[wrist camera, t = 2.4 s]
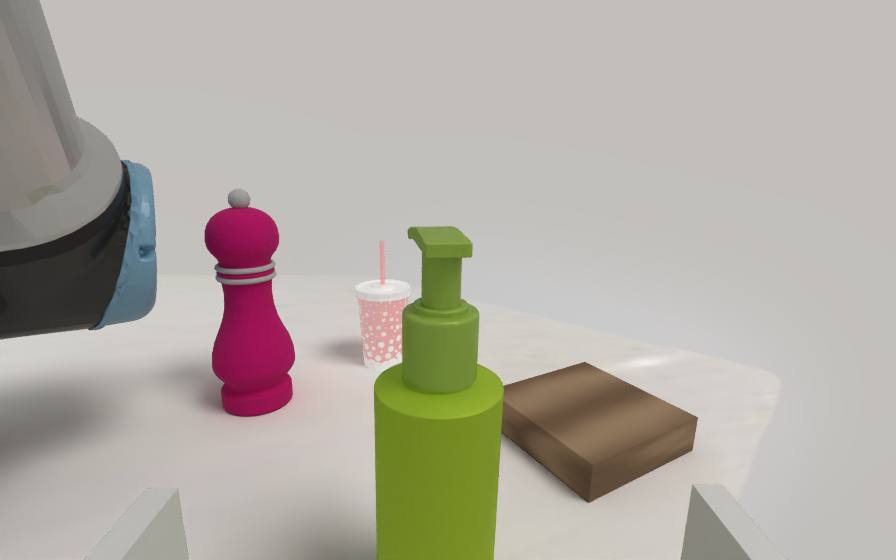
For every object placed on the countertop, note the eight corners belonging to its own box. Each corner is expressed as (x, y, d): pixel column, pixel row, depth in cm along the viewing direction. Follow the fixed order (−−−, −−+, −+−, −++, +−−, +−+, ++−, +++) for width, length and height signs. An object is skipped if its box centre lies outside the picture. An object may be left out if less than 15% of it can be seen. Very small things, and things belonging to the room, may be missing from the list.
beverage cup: (375, 347, 58) (372, 234, 55) (420, 356, 56) (420, 238, 52) (346, 367, 53) (341, 243, 49) (395, 377, 51) (393, 248, 47)
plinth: (487, 420, 43) (488, 390, 42) (582, 388, 49) (585, 361, 48) (588, 502, 33) (593, 464, 32) (692, 450, 39) (697, 417, 38)
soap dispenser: (468, 542, 29) (482, 219, 24) (505, 653, 23) (535, 244, 18) (372, 557, 28) (365, 220, 23) (383, 679, 22) (377, 247, 16)
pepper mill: (274, 375, 51) (257, 184, 46) (312, 398, 46) (298, 189, 41) (204, 400, 45) (176, 188, 40) (239, 429, 41) (213, 194, 36)
